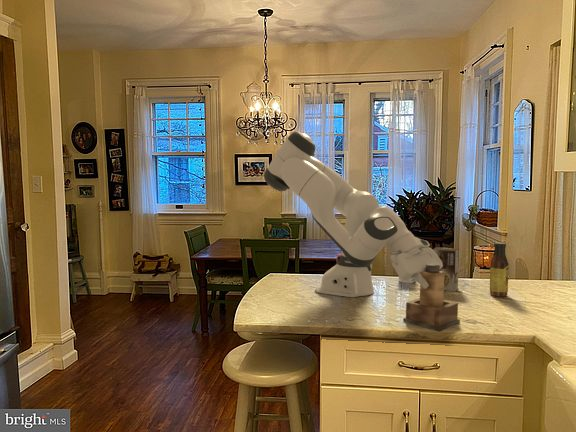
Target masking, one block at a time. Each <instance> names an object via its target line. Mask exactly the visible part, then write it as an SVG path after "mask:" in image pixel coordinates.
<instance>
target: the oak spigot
mask: <svg viewBox="0 0 576 432" xmlns="http://www.w3.org/2000/svg"><path fill="white" fill-rule="evenodd" d="M421 275H422V277H423V278H424V279H425V280H426V281H427V280H428V282H429V283H430V284H431V286H430V287H428V288H426V289H425V288H423V286H422V285H421V284H420V283H419V298H420V304H422V305H426V306H431V307H435V308H439V307H442V306H443V300H444V295H445V294H444V292H445V290H444V272H443V271H440V265H437V264H426V271H424V272H421Z"/></svg>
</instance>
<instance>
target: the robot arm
mask: <svg viewBox="0 0 576 432" xmlns="http://www.w3.org/2000/svg"><path fill="white" fill-rule="evenodd" d="M315 152H316V144H315V142H314V140H313V139H312V138H311V137H310V136H309V135H307V134H306V133H304V132H300V131H293V132H292V133H291V134H290V135H289V136H288V137H287V139H286V140H285V141H284V142H283V144H281V146H280V147H279V148H278V150H277V151H276V153H275V155H274V157H273V158H272V160H271V162H270V163H269V164H268V167H266V169H265V171H264V173H263V178H264V181H265V183H266V184H267V185H268V186H269V187H270V188H272V189H273V190H275V191H277V192H286V191H287V190H289V189H290V190H291V191H292V192H293V193H294V194H295V195H296V196H298V198H300V199H301V200H302V201H303V202H304V203H305V204H306V206H307V207H308V209H309V211H310V213H311V217H312V219H313V220H314V222H316V224H317V225H318V226H319V227H320V229H321V230H322V231H323V232H324V233H325V234H326V235H327V236H328V237H329V238H330V240H332V242H333V243H334V244H335V245H336V246H337V247H338V248H339V249H340V250H341V253H338V255H336V260H335V261H336V262H335V263H336V264H335V265H334V266H332V267H331V268H330V269H328V270H326V271H325V273H324V274H323V275H322V278H321V283H320V284H317V285H316V287H315V292H316V293H319V294H324V295H332V296H338V297H347V298H356V297H363V296H364V297H365V296H369V295H373V294H374V293H375V289H374V286H373V281H372V269H373V262H374V261H375V259H376V257H377V255H378V254H379V253H381V252H380V251H381V250H383V248H384V247H385V246H387V247H388V249H389V251H390V253H389V260H391V265H392V267H393V269H394V270H395V273H397V275H398V278H399V277H400V278H401V279H403V280H407V279H411V278H414V279H415V281H414V282H417V283H418V284H419V285H420V284H421V285H422V286H423V288H425V289H426V288H428V287H430V286H431V284H430V283H429V282H428V280H427V281H426V280H425V279H424V278H423V277H422V275H421V272H424V271H426V264H437V265H440V269H441V268H442V267H443V264H442V261H441V260H440V258H439V257H438V256H437V254H436V253H435V252H434V251H433V249H432V248H431V247H430V246H431V244H430V243H429V241H428V240H424V239H421V238H419V237H417V236H415V235H414V234H413V233H412V232H411V231H410V230H408V228H407V226H406V224H405V222H404V221H403V220H402V219H401V217H400V216H399V215H398V213H396V212H395V211H394V210H393V209H392V208H390V207H389V206H380V204H379V201H378V199H377V197H375V196H374V195H373V194H372V193H370V192H368V191H365V190H364V191H363V190H358V189H356V188H354V187H353V186H352V185H351V184H349V182H348V181H347V180H345V178H344V177H343V176H342V175H340V174H339V173H338V172H336V170H333V169H332V168H330V167H329V166H328V165H326V163H323V162H322V161H321V160H319V159H318V158H315V155H316V154H315ZM334 210H336V211H337V212H338V213H340V214H341V215H343V216H344V217H345V218H346V219H345V224H344V226H343V224H342V223H341V222H340V221H339V220H338V219H337V218H336V214H335V211H334Z"/></svg>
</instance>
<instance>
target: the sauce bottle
mask: <svg viewBox="0 0 576 432" xmlns="http://www.w3.org/2000/svg"><path fill="white" fill-rule="evenodd" d="M493 247H494V248H493V249H494V253H493V254H494V255H493V256H492V258H491V260H490V266H489V293H490V295H491V296H492V297H496V298H497V297H501V298H502V297H503V298H504V297H507V296H508V292H509V269H510V268H509V267H510V266H509V262H508V258H507V255H506V247H507V243H505V242H494V243H493Z"/></svg>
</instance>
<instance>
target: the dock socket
mask: <svg viewBox="0 0 576 432" xmlns="http://www.w3.org/2000/svg"><path fill="white" fill-rule="evenodd" d="M458 308H459V303H458V302H453V301H450V300H445V299H443V306H442V307H439V308H435V307H431V306H426V305H422V304H420V297H418V298H416V299H415V298H414V299H413V300H409V301H406V303H405V317H403V322H405V323H408V324H412V325H415V326H419V327H422V328H426V329H428V330H429V329H430V330H433V331H436V332H442V331H444V330H446V329H448V328H450V327H453V326H454V325H457V324H460V323H461V319H460V318H458V313H459V311H458V310H459V309H458Z"/></svg>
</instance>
